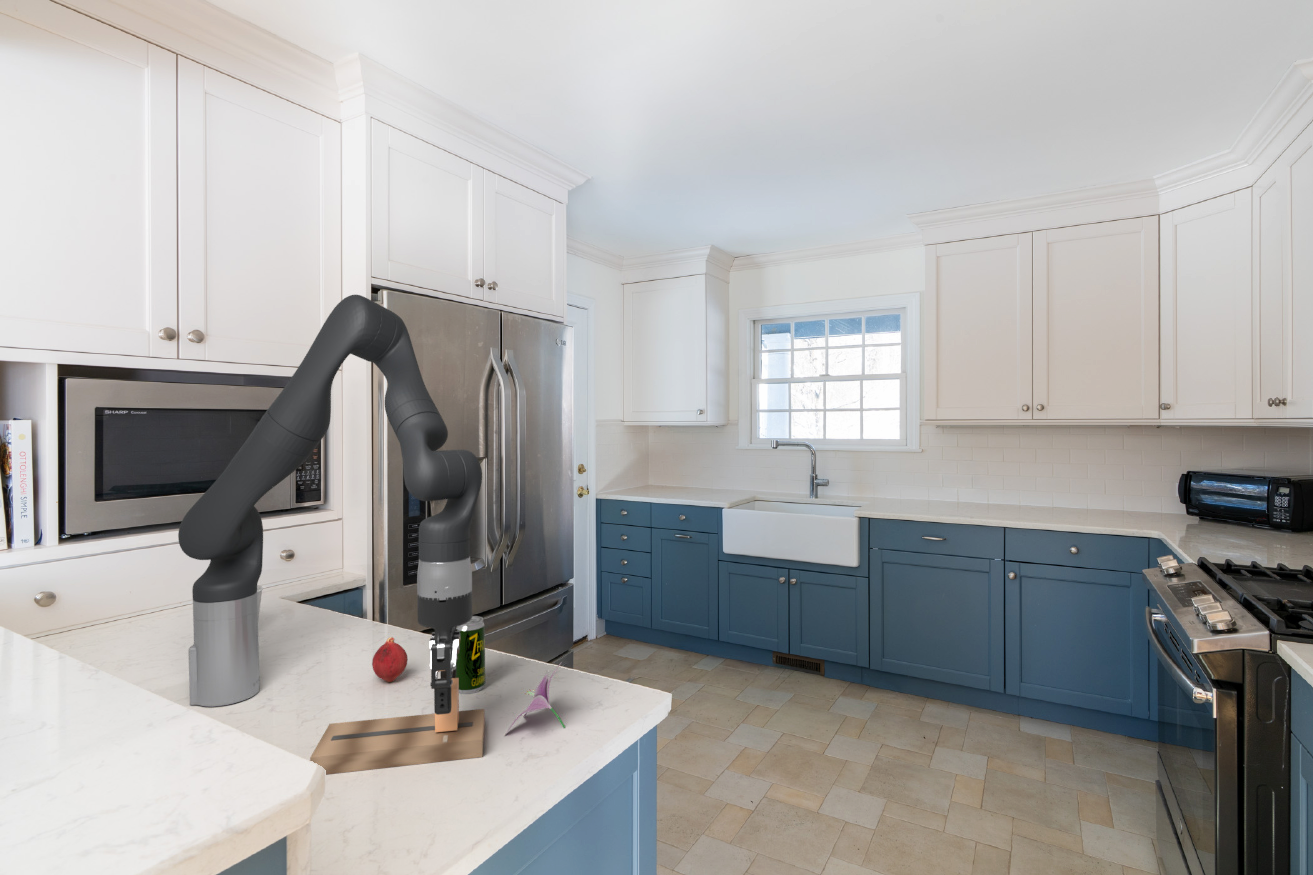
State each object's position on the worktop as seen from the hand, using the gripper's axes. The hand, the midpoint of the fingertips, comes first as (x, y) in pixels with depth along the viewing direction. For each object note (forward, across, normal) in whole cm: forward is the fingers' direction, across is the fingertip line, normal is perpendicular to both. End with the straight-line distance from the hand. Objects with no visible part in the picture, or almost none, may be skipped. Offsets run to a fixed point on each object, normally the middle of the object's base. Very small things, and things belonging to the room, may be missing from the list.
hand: (445, 700), depth 97 cm
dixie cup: (+7, -61, -48) cm, 78 cm away
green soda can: (+7, -20, +2) cm, 21 cm away
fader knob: (+4, 0, 0) cm, 4 cm away
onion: (+7, -26, -12) cm, 29 cm away
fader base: (+6, 0, -6) cm, 9 cm away
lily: (+7, -3, +13) cm, 15 cm away
